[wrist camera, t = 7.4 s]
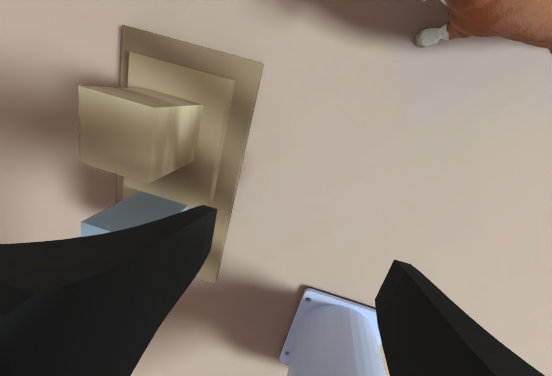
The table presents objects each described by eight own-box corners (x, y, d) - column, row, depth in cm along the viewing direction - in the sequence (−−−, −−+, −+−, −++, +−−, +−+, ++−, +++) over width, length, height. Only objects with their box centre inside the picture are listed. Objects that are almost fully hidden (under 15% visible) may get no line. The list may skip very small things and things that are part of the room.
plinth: (217, 278, 25) (208, 293, 23) (120, 246, 25) (104, 258, 24) (263, 63, 18) (257, 60, 16) (130, 27, 19) (108, 19, 17)
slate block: (182, 247, 22) (139, 294, 17) (137, 233, 22) (82, 275, 17) (188, 205, 20) (143, 242, 15) (140, 190, 21) (80, 221, 15)
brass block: (194, 160, 19) (148, 184, 14) (144, 145, 19) (79, 162, 14) (203, 104, 18) (154, 107, 12) (148, 88, 18) (78, 85, 13)
